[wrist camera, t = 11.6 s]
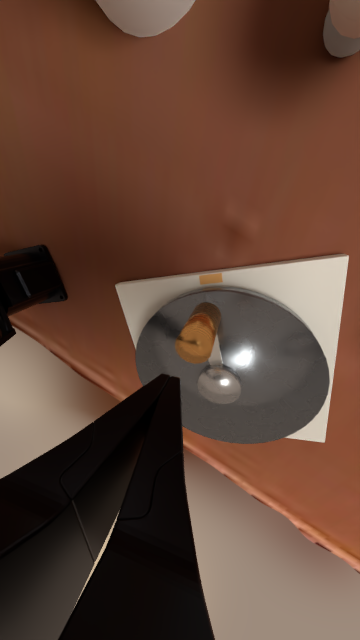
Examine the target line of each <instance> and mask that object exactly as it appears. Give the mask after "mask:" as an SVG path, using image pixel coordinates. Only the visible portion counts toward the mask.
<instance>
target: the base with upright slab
mask: <svg viewBox="0 0 360 640" xmlns="http://www.w3.org/2000/svg"><path fill="white" fill-rule="evenodd" d="M95 1H96V2H97V3H98V5H99V6H100V8H101V9H102V10H103V12H104V13H105V14H106V16H107V17H108V19H109V20H110V21H111V22H112V23H114V24H115V25H116V26H117V27H118V28H120V29H121V30H122V31H123V32H125V33H128V34H131V35H134V36H137V37H149V36H157V35H158V34H160V33H162V32H164V31H166V30H168V29H170V28H171V27H173V26H174V25H175V24H176V23H177V22H178V21H179V20H180V19H181V18H182V17H183V16H184V15H185V14H186V13H187V12H188V11H189V10H190V8H191V7H192V5H193V3H194V2H195V0H95Z"/></svg>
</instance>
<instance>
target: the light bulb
mask: <svg viewBox="0 0 360 640" xmlns="http://www.w3.org/2000/svg"><path fill="white" fill-rule="evenodd" d="M323 38H324V44H325V48H326V49H327V50H328V51H329V53H330V54H331V55H333V56H336V57H340V58H342V57H346V56H350V55H353V54H355V53H356V52H358V51H359V50H360V0H330V3H329V10H328V13H327V16H326V18H325V24H324V30H323Z"/></svg>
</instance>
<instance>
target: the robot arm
mask: <svg viewBox="0 0 360 640" xmlns="http://www.w3.org/2000/svg"><path fill="white" fill-rule="evenodd" d="M42 250H43V251H42ZM65 300H67V294H66V292H65V290H64V287H63V285H62V283H61V280H60V278H59V276H58V273H57V271H56V269H55V266H54V264H53V262H52V259H51V257H50V255H49V252H48V250H47V248H46V247H45V246H44V245H38V246H34V247H29V248H25V249H21V250H17V251H13V252H8V253H5V254H4V257H0V346H1V345H2V344H4V343H5V342H6V341H7V340H9V339H10V338H11V337H13V336H14V335H15V334H16V332H15V329H14V328H13V327H12V325H11V322H10V320H9V318H8V316H10V315H12V314H15V313H17V312H19V311H22V310H24V309H26V308H29V307H31V306H33V305H36V304H40V303H50V302H60V301H65ZM183 456H184V455H183V431H182V405H181V380H180V378H179V377H175V376H170V375H168V374H164V373H162V374H160V375H159V376H157V377H156V378H154V379H153V380H151V381H150V382H149V383H147V384H146V385H144V386H143V387H142V388H140V389H139V390H137V391H136V392H135V393H133V394H132V395H130V396H129V397H128V398H126V399H125V400H123V401H122V402H120V403H119V404H118V405H116V406H115V407H114V408H112V409H111V410H109V411H108V412H106V413H105V414H104V415H102V416H101V417H100V418H98V419H97V420H95V421H94V423H93V422H92V423H91V424H89V425H88V426H87V427H85V428H84V429H83V430H81V431H79V432H78V433H77V434H75V435H73V436H72V437H71V438H69V439H67V440H66V441H64V442H62V443H61V444H59V445H58V446H56V447H54V448H53V449H51V450H49V451H48V452H46V453H44V454H43V455H41V456H39V457H38V458H36V459H34V460H32V461H31V462H29V463H27V464H26V465H24V466H22V467H21V468H19V469H17V470H16V471H14V472H12V473H11V474H9V475H7V476H5V477H3V478H1V479H0V640H215V638H214V634H213V630H212V626H211V622H210V618H209V614H208V610H207V606H206V602H205V598H204V593H203V589H202V584H201V579H200V574H199V568H198V563H197V557H196V551H195V545H194V538H193V532H192V526H191V519H190V513H189V508H188V501H187V493H186V485H185V476H184V457H183ZM119 510H120V511H119ZM118 512H119V514H118ZM117 514H118V517H117V521H116V523H115V525H114V528H113V531H112V533H111V536H110V539H109V541H108V543H107V546H106V548H105V550H104V552H103V554H102V556H101V558H100V560H99V562H98V564H97V566H96V568H95V569H94V572H93V573H92V575H91V577H90V579H89V581H88V583H87V585H86V587H85V589H84V590H83V592H82V594H81V596H80V593H81V591H82V589H83V587H84V585H85V583H86V581H87V578H88V576H89V574H90V572H91V570H92V568H93V566H94V562H95V561H96V559H97V557H98V555H99V553H100V550H101V548H102V546H103V544H104V542H105V540H106V538H107V536H108V534H109V531H110V529H111V527H112V525H113V523H114V521H115V519H116V516H117ZM79 596H80V598H79ZM78 598H79V600H78ZM77 600H78V602H77ZM76 602H77V604H76ZM75 604H76V606H75ZM74 606H75V608H74ZM73 608H74V610H73Z"/></svg>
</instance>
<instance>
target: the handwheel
mask: <svg viewBox="0 0 360 640" xmlns="http://www.w3.org/2000/svg"><path fill="white" fill-rule="evenodd" d="M136 366H137V372H138V375H139V378H140V381H141V383H142V385H143V386H144V385H146V384H147V383H149V382H150V381H151V380H153V379H154V378H156V377H157V376H159V375H160V374H162V373H164V374H168V375H170V376H175V377H179V378H180V380H181V405H182V426H183V427H185V428H187V429H189V430H191V431H193V432H195V433H197V434H200V435H202V436H205V437H208V438H211V439H215V440H219V441H224V442H230V443H241V444H254V443H264V442H269V441H274V440H278V439H281V438H284V437H287V436H289V435H291V434H293V433H295V432H297V431H299V430H300V429H302V428H303V427H305V426H306V425H307V424H308V423H310V422H311V421H312V420H313V419H314V418H315V416H316V415H317V414H318V413H319V411H320V410H321V408H322V406H323V405H324V403H325V400H326V397H327V395H328V390H329V384H330V378H329V368H328V364H327V360H326V357H325V355H324V353H323V351H322V348H321V346H320V344H319V342H318V341H317V339H316V337H315V335H314V334H313V332H312V331H311V329H310V328H309V326H308V325H307V324H306V323H305V322H304V321H303V320H302V319H301V318H300V317H299V316H298V315H297V314H296V313H295V312H293V311H292V310H291V309H290V308H288V307H287V306H285V305H284V304H282V303H280V302H279V301H277V300H275V299H273V298H271V297H268V296H266V295H264V294H261V293H258V292H255V291H251V290H248V289H242V288H236V287H222V286H218V287H206V288H201V289H196V290H192V291H189V292H187V293H184V294H181V295H179V296H177V297H175V298H173V299H172V300H170V301H169V302H167V303H166V304H165V305H163V306H162V307H161V308H160V309H159V310H158V311H157V312H156V313H155V314H154V315H153V316H152V317H151V318H150V319H149V321H148V322H147V324H146V325H145V326H144V328H143V330H142V332H141V334H140V336H139V339H138V342H137V347H136Z"/></svg>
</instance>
